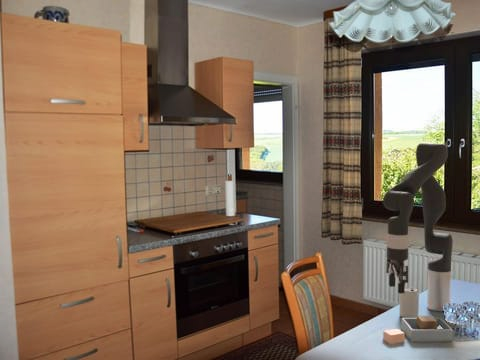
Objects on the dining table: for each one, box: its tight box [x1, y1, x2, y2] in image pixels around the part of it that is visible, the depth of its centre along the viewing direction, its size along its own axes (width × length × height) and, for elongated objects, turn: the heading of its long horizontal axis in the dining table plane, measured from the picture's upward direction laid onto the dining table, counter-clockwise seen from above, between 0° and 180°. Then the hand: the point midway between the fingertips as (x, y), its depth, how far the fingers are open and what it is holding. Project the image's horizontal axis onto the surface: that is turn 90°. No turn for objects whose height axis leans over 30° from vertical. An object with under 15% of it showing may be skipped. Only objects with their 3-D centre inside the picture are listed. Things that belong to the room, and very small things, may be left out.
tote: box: [401, 317, 454, 343], centre depth 182 cm, size 12×15×4 cm
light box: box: [382, 328, 406, 345], centre depth 178 cm, size 4×6×4 cm
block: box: [417, 315, 437, 330], centre depth 182 cm, size 6×6×6 cm
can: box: [399, 286, 420, 318], centre depth 201 cm, size 8×8×12 cm
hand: (396, 289), depth 177 cm, fingers open, 8 cm apart
